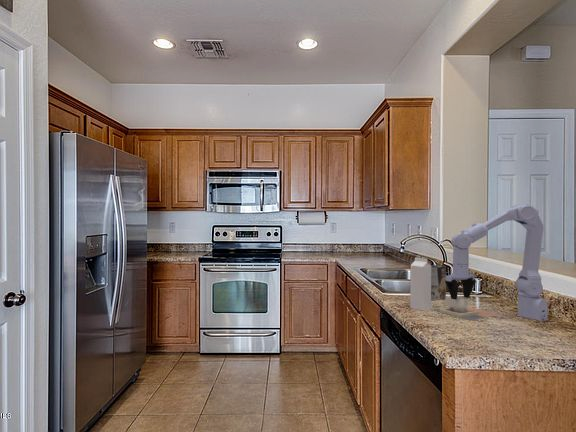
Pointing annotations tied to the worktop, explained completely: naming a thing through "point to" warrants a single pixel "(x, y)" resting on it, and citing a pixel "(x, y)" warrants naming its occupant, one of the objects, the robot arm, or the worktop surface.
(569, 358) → the worktop surface
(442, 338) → the worktop surface
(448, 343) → the worktop surface
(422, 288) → the milk
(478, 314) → the jug holder
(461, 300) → the jug
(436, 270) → the coffee box
